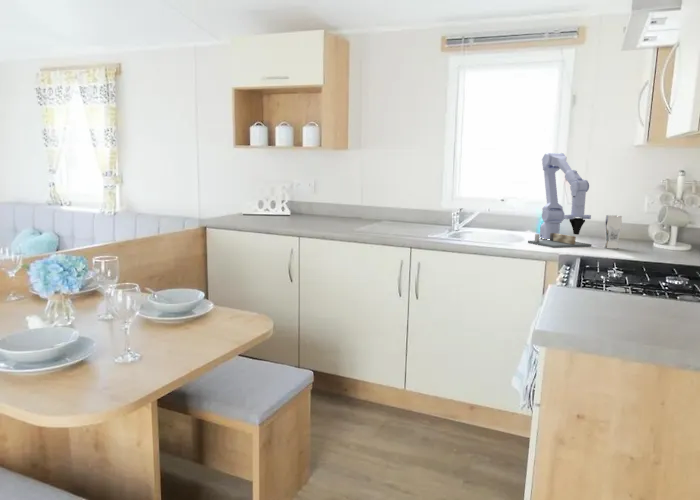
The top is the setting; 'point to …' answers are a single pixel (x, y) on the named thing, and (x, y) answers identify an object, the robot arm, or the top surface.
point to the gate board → (556, 243)
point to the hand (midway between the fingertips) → (576, 234)
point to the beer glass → (612, 231)
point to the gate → (562, 238)
